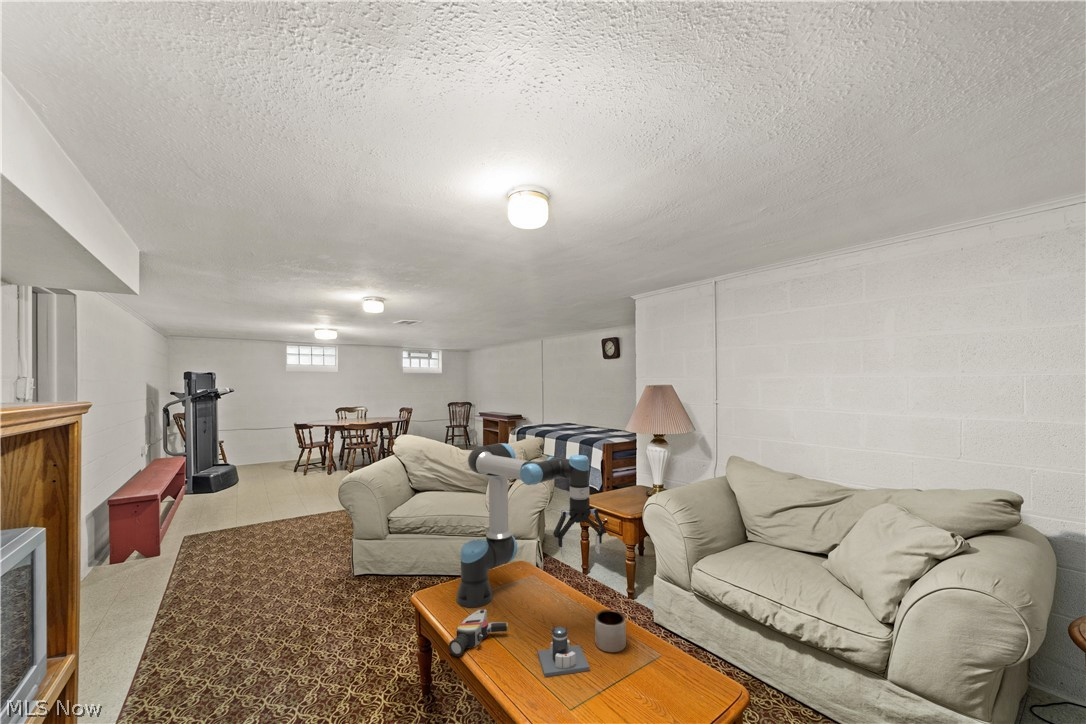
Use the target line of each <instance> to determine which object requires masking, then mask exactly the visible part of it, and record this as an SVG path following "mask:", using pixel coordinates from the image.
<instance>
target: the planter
mask: <svg viewBox="0 0 1086 724" xmlns="http://www.w3.org/2000/svg"><path fill="white" fill-rule="evenodd" d="M594 620H595V621H594V624H595V625H594V627H595V629H594V641H595V645H596V647H597V648H598V649H599V650H601V651H603V652H606V653H612V654H615V653H619V652H621V651H623V650H624V649H625V648H626V645H627V635H626V630H627V629H626V616H625V615H624V614H623V613H622V612H620V611H618V610H614V609H602V610H600V611H597V613H596V614H595V617H594Z"/></svg>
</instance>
